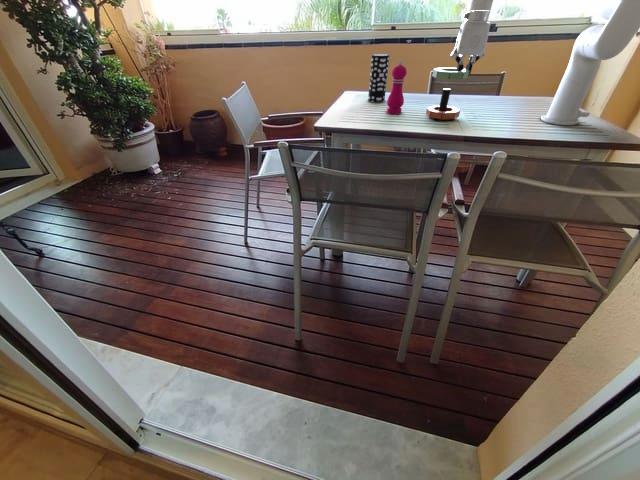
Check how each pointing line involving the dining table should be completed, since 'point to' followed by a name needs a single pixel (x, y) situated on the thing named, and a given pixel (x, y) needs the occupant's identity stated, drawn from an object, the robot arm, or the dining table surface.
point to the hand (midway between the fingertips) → (462, 75)
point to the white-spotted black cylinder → (378, 77)
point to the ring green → (450, 73)
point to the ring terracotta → (448, 114)
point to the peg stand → (444, 102)
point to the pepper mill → (396, 89)
